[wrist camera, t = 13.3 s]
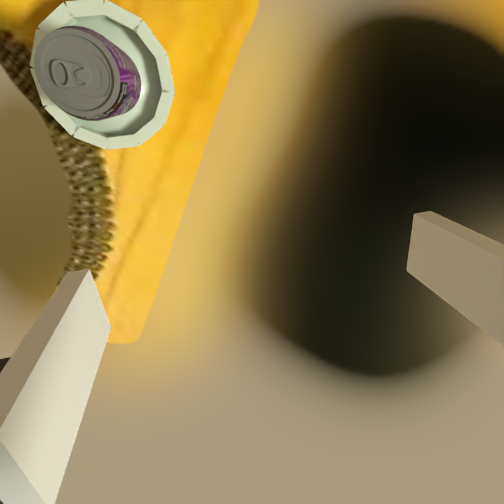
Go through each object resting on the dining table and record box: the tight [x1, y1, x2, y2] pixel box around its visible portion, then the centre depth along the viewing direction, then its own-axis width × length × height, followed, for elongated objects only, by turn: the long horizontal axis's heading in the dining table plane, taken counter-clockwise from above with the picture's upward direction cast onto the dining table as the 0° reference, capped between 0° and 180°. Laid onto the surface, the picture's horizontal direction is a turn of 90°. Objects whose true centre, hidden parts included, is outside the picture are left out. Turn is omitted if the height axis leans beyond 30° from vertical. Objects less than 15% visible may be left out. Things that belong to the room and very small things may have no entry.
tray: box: [30, 0, 175, 150], centre depth 36 cm, size 14×14×2 cm
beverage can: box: [34, 26, 141, 121], centre depth 31 cm, size 7×7×12 cm
